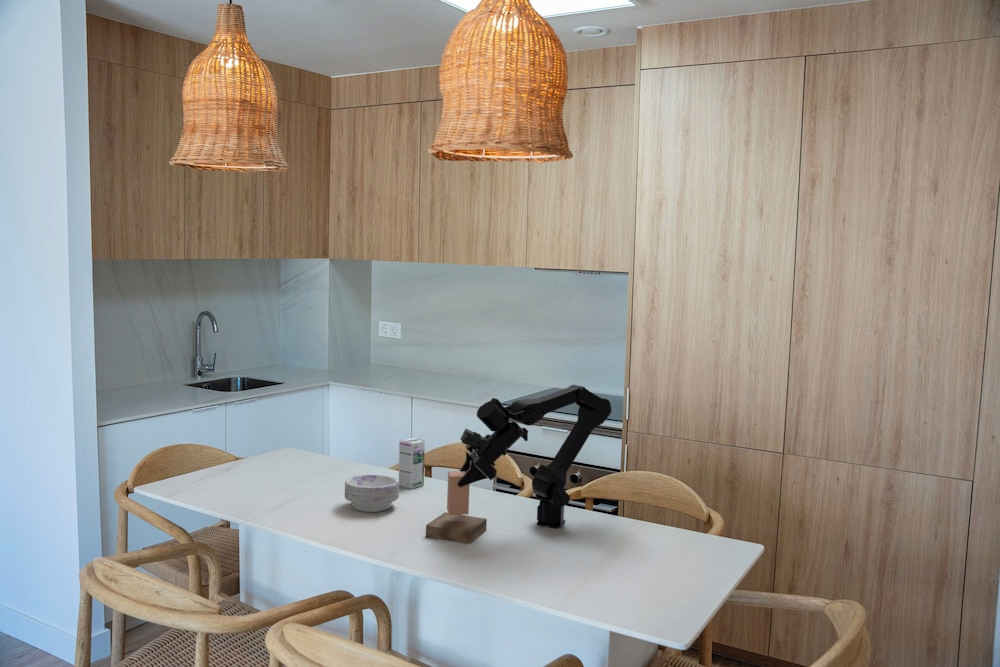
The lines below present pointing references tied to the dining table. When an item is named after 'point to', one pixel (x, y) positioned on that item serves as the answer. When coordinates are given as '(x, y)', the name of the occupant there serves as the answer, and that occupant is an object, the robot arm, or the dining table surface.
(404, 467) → the syrup box
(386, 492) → the paper bowls
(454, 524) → the walnut plinth
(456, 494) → the terracotta block
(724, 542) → the dining table surface
